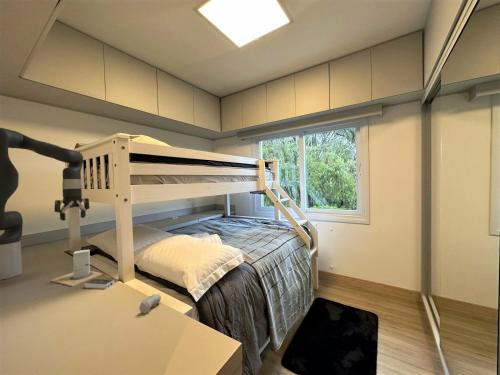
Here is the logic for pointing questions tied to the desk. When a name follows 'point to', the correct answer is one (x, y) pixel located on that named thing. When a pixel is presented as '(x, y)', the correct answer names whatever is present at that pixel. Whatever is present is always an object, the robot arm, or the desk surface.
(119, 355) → the desk surface
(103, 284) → the multiport hub
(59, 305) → the desk surface
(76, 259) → the skincare box
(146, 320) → the desk surface
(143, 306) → the grey rounded cylinder
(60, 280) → the beige flat board
